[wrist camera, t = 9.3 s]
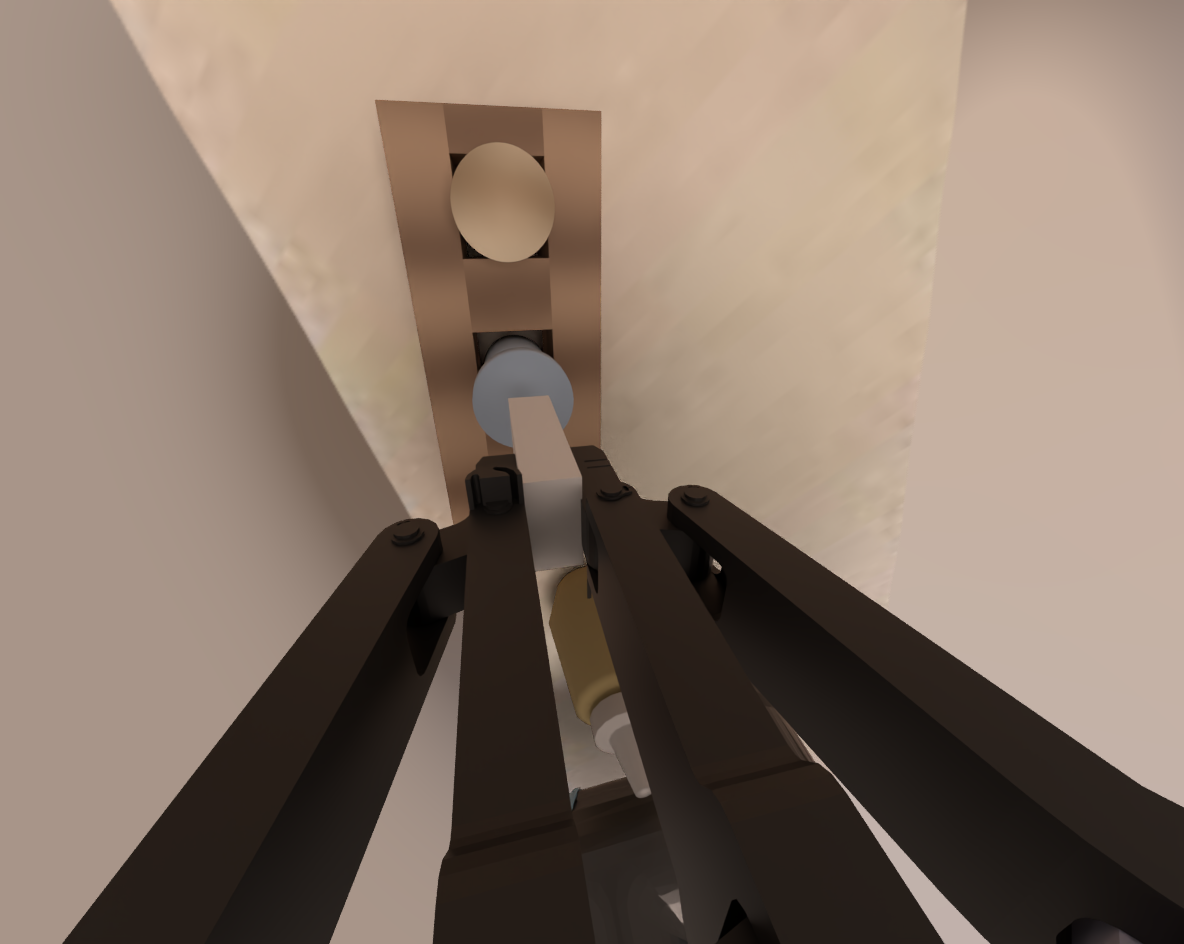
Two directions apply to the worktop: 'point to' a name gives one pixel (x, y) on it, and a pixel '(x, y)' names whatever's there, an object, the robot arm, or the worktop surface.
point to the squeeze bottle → (594, 676)
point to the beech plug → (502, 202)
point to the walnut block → (497, 264)
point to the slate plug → (517, 384)
